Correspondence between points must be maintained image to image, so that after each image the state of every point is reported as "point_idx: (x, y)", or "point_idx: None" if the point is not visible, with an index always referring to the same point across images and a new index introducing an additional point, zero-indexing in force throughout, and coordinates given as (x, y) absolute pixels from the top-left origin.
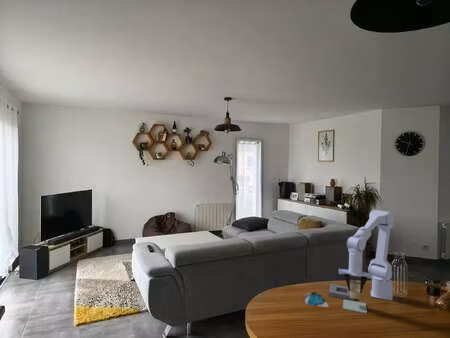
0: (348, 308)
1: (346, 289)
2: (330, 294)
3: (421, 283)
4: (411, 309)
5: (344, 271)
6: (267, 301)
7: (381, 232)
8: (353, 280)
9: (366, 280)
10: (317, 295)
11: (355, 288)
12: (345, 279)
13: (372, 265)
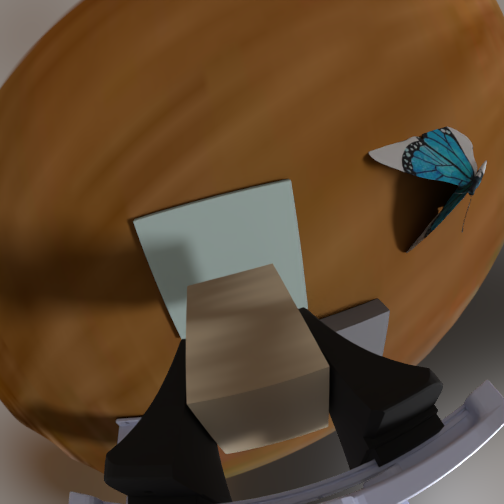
0: (256, 199)
1: None
2: (376, 307)
3: None
4: (41, 386)
5: (473, 451)
6: None
7: None
8: (292, 434)
9: (105, 470)
10: (453, 181)
11: (240, 341)
12: (409, 365)
13: None
